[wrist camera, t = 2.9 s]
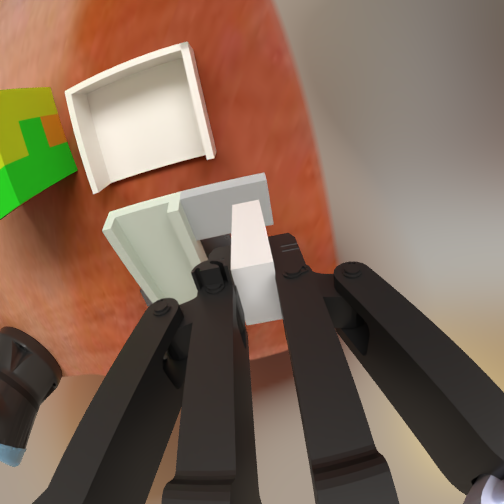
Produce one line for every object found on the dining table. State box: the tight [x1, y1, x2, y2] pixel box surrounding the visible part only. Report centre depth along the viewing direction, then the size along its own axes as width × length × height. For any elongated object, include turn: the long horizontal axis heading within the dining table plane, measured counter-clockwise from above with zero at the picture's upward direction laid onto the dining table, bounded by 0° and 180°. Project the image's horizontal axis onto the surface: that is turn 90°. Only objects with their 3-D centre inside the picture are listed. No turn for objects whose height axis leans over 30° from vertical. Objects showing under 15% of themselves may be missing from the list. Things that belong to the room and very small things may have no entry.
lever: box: [102, 173, 273, 305], centre depth 26 cm, size 20×12×3 cm, turn 12°
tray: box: [65, 42, 217, 194], centre depth 20 cm, size 11×10×4 cm
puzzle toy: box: [0, 87, 78, 220], centre depth 17 cm, size 10×10×10 cm
